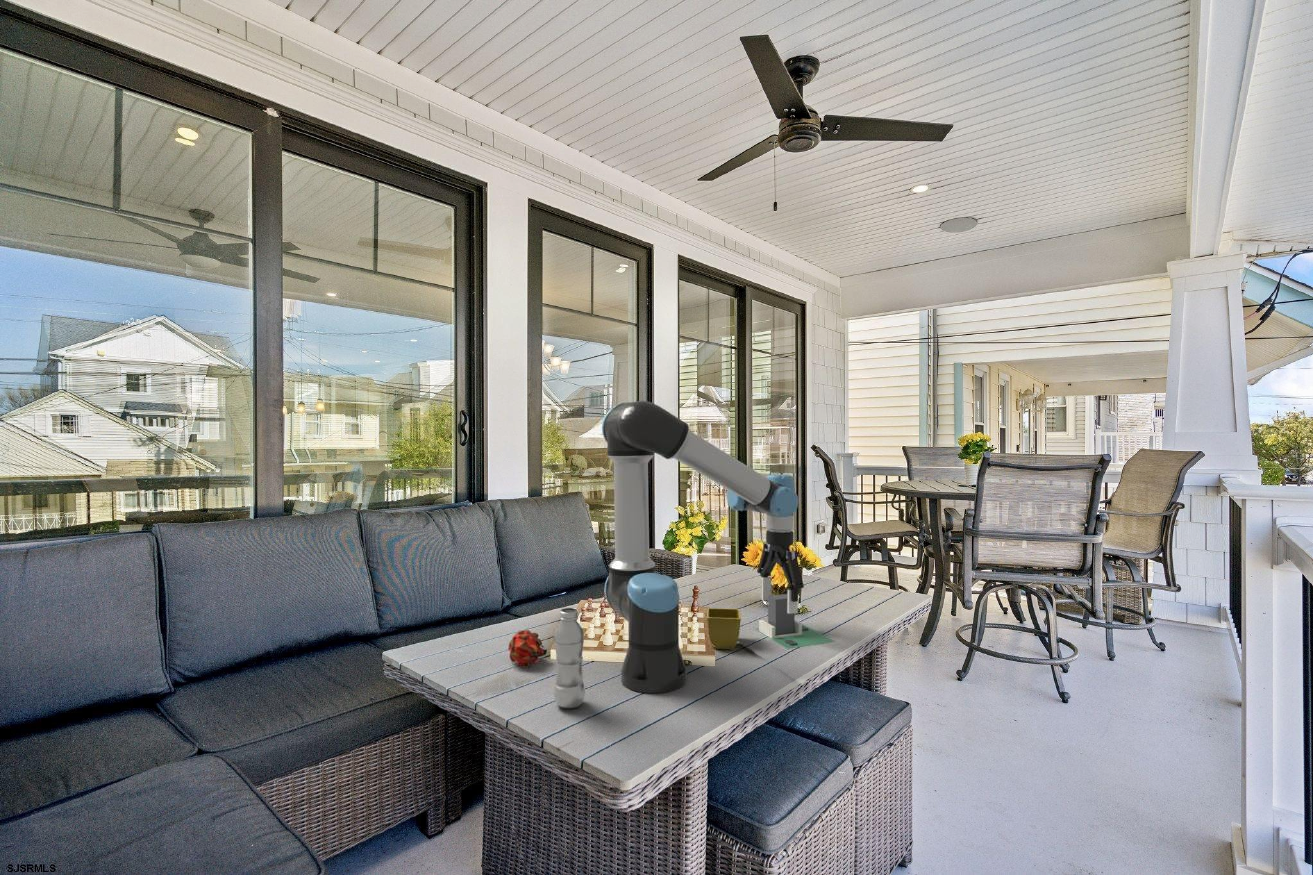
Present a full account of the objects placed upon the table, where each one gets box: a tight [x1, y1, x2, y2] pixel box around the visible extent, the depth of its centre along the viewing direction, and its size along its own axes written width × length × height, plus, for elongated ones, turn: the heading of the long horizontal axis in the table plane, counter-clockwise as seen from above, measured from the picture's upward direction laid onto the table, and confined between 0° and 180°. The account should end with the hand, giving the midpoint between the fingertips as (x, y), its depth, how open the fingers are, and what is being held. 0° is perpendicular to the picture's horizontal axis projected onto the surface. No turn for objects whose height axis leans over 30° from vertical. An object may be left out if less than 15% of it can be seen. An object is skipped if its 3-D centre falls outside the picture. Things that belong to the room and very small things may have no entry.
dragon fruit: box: [508, 629, 548, 669], centre depth 151 cm, size 8×8×12 cm
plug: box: [767, 593, 796, 636], centre depth 170 cm, size 7×4×10 cm, turn 110°
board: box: [755, 619, 837, 649], centre depth 168 cm, size 15×17×4 cm
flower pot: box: [706, 607, 742, 650], centre depth 162 cm, size 9×9×9 cm
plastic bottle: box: [553, 607, 586, 709], centre depth 128 cm, size 6×7×20 cm
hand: (778, 606), depth 169 cm, fingers open, 13 cm apart
